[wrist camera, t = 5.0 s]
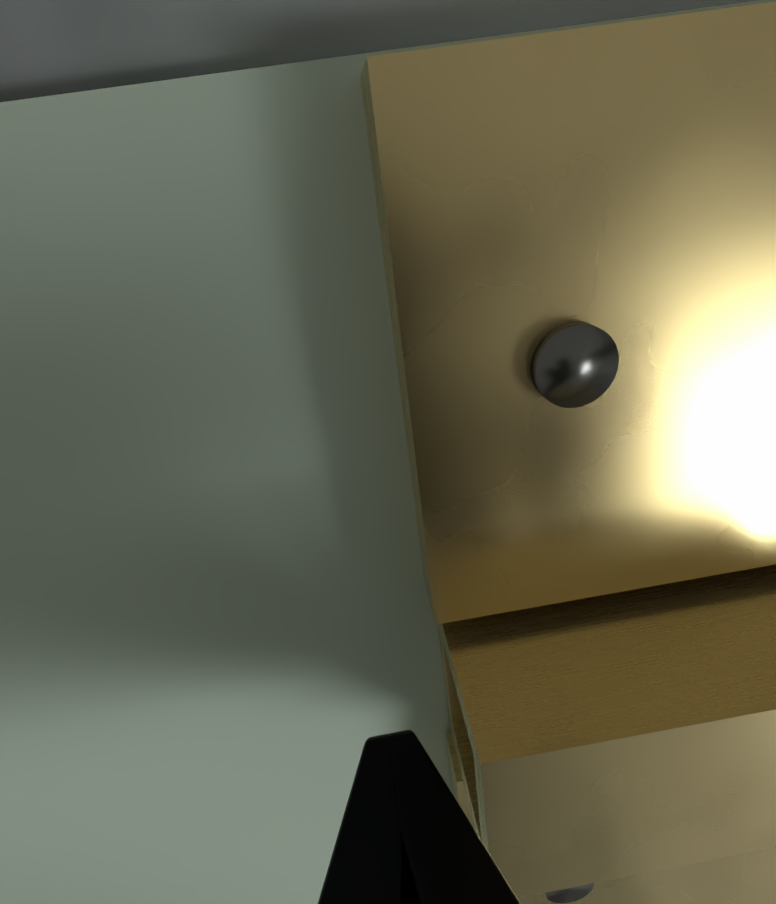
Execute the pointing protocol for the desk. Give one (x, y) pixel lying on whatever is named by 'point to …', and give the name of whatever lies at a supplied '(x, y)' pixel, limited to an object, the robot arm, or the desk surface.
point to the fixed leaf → (583, 303)
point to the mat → (201, 488)
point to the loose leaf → (622, 742)
